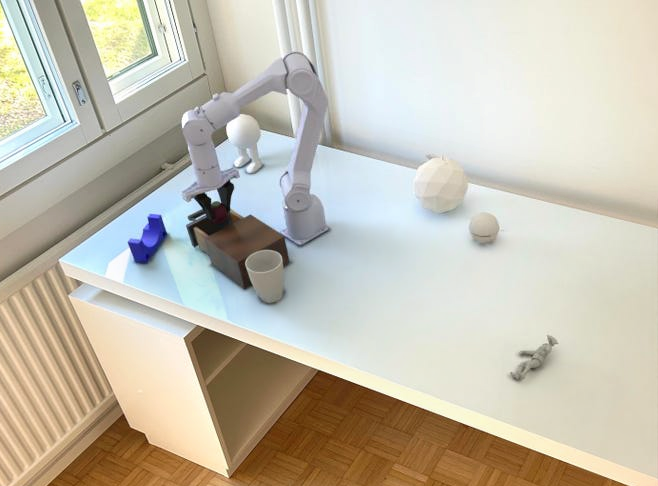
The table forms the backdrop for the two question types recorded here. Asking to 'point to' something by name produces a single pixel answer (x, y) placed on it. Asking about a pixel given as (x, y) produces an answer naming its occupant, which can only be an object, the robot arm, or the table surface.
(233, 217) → the drawer
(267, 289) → the cup
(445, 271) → the table surface
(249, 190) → the table surface
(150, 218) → the cable clip
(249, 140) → the toy character
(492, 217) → the grey rounded domed piece
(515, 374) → the soldier figure
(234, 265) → the cabinet
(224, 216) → the mangosteen
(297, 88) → the robot arm
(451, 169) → the geodesic sphere
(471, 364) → the table surface
